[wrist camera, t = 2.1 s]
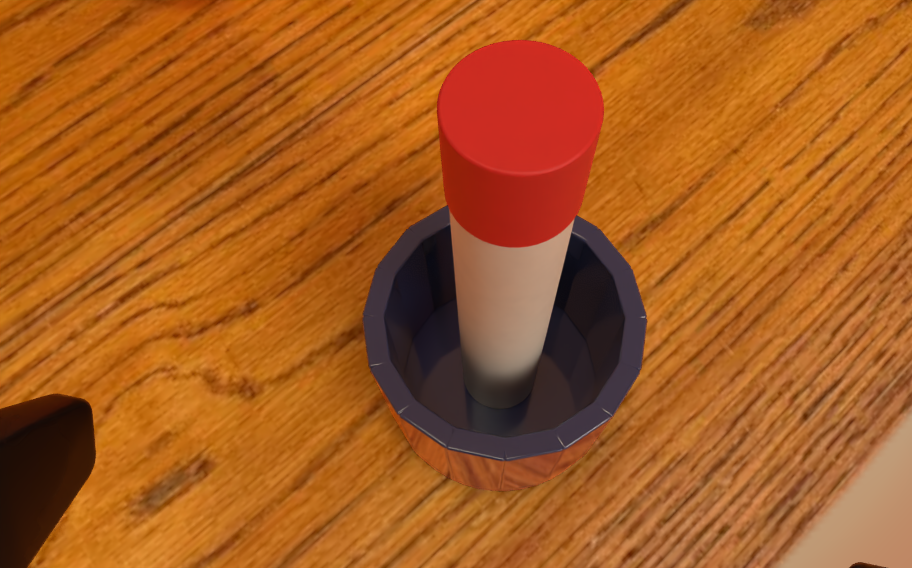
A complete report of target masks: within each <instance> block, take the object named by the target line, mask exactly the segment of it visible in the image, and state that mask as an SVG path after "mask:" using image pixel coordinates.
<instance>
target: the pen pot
mask: <svg viewBox="0 0 912 568" xmlns="http://www.w3.org/2000/svg"><path fill="white" fill-rule="evenodd" d="M646 317H647V315H646V312H645V309H644V305H643V302H642V299H641V296H640V292H639V289H638V286H637V283H636V279H635V276H634V273H633V270H632V269H631V267H630V265H629V264H628V263H627V261H626V260H625V259H624V258H623V257H622V255H621V254H620V253H619V252H618V251H617V249H616V248H615V247H614V246H613V245H612V243H611V242H610V241H609V240H608V238H607V237H606V236H605V235H604V234H603V232H602V231H601V230H600V229H598V228H597V227H596V226H595V225H593V224H591V223H589V222H587V221H586V220H584V219H582V218H580V217H579V216H577V215H576V217H575V219H574V223H573V227H572V232H571V236H570V240H569V244H568V248H567V252H566V256H565V260H564V264H563V268H562V272H561V276H560V280H559V284H558V289H557V293H556V297H555V301H554V305H553V309H552V313H551V317H550V321H549V325H548V329H547V333H546V337H545V341H544V346H543V350H542V354H541V358H540V362H539V366H538V370H537V374H536V378H535V382H534V386H533V388H532V390H531V392H530V394H529V395H528V396H527V397H526V398H525V399H524V400H523V401H522V402H521V403H519V404H517V405H515V406H513V407H510V408H505V409H495V408H490V407H487V406H484V405H482V404H481V403H479V402H478V401H476V400H475V399H474V398H473V397H472V396H471V395H470V393H469V392H468V390H467V388H466V386H465V383H464V377H463V366H462V355H461V343H460V331H459V319H458V308H457V296H456V284H455V272H454V260H453V249H452V237H451V225H450V213H449V207H448V205H447V206H445V207H443V208H441V209H440V210H438V211H436V212H434V213H433V214H431V215H429V216H427V217H426V218H424V219H422V220H420V221H419V222H417V223H415V224H414V225H412V226H410V227H409V229H407V230H406V231H405V232H404V233H403V235H402V236H401V237H400V238H399V240H398V241H397V242H396V243H395V245H394V246H393V247H392V248H391V249H390V251H389V252H388V253H387V254H386V256H385V257H384V258H383V259H382V261H381V262H380V263H379V264H378V266H377V268H376V270H375V273H374V276H373V280H372V283H371V287H370V290H369V294H368V297H367V300H366V304H365V307H364V311H363V318H362V321H363V329H364V336H365V344H366V351H367V358H368V366H369V368H370V372H371V374H372V376H373V378H374V380H375V382H376V384H377V386H378V388H379V390H380V392H381V394H382V396H383V398H384V400H385V402H386V404H387V406H388V408H389V410H390V412H391V414H392V416H393V418H394V419H395V421H396V423H397V424H398V426H399V428H400V429H401V431H402V432H403V434H404V436H405V438H406V440H407V441H408V442H409V444H410V445H411V447H412V449H413V450H414V452H415V453H417V455H418V456H419V457H421V458H422V459H423V460H424V461H425V462H426V463H427V464H429V465H430V466H431V467H432V468H433V469H435V470H436V471H438V472H439V473H441V474H442V475H444V476H446V477H447V478H449V479H451V480H454V481H456V482H458V483H460V484H463V485H466V486H470V487H473V488H477V489H483V490H490V491H511V490H519V489H525V488H529V487H532V486H536V485H539V484H541V483H544V482H546V481H549V480H551V479H553V478H554V477H556V476H558V475H559V474H561V473H563V472H564V471H565V470H567V469H568V468H569V467H571V466H572V465H573V464H574V463H575V462H577V461H578V460H579V459H581V458H582V457H583V456H584V455H585V454H586V453H587V452H588V450H589V449H590V447H591V446H592V445H593V443H594V442H595V441H596V439H597V438H598V437H599V435H600V434H601V432H602V431H603V430H604V428H605V427H606V426H607V424H608V423H609V422H610V420H611V419H612V417H613V416H614V414H615V413H616V411H617V410H618V408H619V406H620V405H621V403H622V401H623V400H624V398H625V397H626V395H627V393H628V392H629V390H630V388H631V387H632V385H633V383H634V382H635V380H636V379H637V377H638V375H639V374H640V370H641V367H642V359H643V351H644V343H645V334H646V326H647V319H646Z"/></svg>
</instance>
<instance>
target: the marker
mask: <svg viewBox="0 0 912 568" xmlns="http://www.w3.org/2000/svg"><path fill="white" fill-rule="evenodd" d="M603 116H604V104H603V98H602V94H601V91H600V89H599V86H598V84H597V82H596V80H595V78H594V77H593V75H592V74H591V72H590V71H589V70H588V69H587V67H586V66H584V65H583V64H582V63H581V62H580V61H579V60H578V59H576V58H575V57H574V56H572V55H571V54H569V53H567V52H566V51H564V50H562V49H560V48H557V47H555V46H552V45H549V44H546V43H542V42H536V41H528V40H511V41H503V42H498V43H493V44H490V45H487V46H484V47H482V48H480V49H478V50H476V51H474V52H472V53H471V54H469V55H467V56H466V57H465V58H463V59H462V60H461V61H460V62H458V64H457V65H456V66H455V67H454V68H453V69H452V70H451V71H450V73H449V74H448V75H447V77H446V79H445V81H444V82H443V84H442V86H441V89H440V92H439V96H438V101H437V118H438V129H439V140H440V150H441V161H442V172H443V183H444V192H445V198H446V202H447V205H448V207H449V213H450V225H451V237H452V249H453V260H454V272H455V284H456V296H457V308H458V319H459V331H460V343H461V355H462V366H463V377H464V383H465V386H466V388H467V390H468V392H469V393H470V395H471V396H472V397H473V398H474V399H475V400H476V401H478V402H479V403H481V404H482V405H484V406H487V407H490V408H495V409H505V408H510V407H513V406H515V405H517V404H519V403H521V402H522V401H523V400H524V399H525V398H526V397H527V396H528V395H529V394H530V392H531V390H532V388H533V386H534V382H535V378H536V374H537V370H538V366H539V362H540V358H541V354H542V350H543V346H544V341H545V337H546V333H547V329H548V325H549V321H550V317H551V313H552V309H553V305H554V301H555V297H556V293H557V289H558V284H559V280H560V276H561V272H562V268H563V264H564V260H565V256H566V252H567V248H568V244H569V240H570V236H571V232H572V227H573V223H574V219H575V217H576V215H577V214H578V212H579V209H580V207H581V205H582V201H583V197H584V193H585V189H586V185H587V181H588V177H589V173H590V170H591V166H592V162H593V158H594V154H595V150H596V146H597V142H598V138H599V134H600V130H601V126H602V122H603Z"/></svg>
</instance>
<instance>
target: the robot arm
mask: <svg viewBox="0 0 912 568" xmlns="http://www.w3.org/2000/svg"><path fill="white" fill-rule="evenodd" d="M95 458H96V450H95V438H94V426H93V414H92V408H91V406H90V404H89V403H88V402H87V401H86V400H85V399H82V398H77V397H72V396H68V395H63V394H50V395H47V396H43V397H40V398H36V399H33V400H29V401H26V402H23V403H19V404H16V405H12V406H9V407H5V408H2V409H0V568H27V567H28V566H29V564H30V563H31V562H32V560H33V559H34V557H35V556H36V554H37V553H38V551H39V550H40V548H41V547H42V545H43V544H44V542H45V541H46V539H47V538H48V536H49V535H50V533H51V532H52V531H53V529H54V528H55V526H56V525H57V523H58V522H59V520H60V519H61V517H62V516H63V514H64V513H65V511H66V510H67V508H68V507H69V505H70V504H71V502H72V501H73V500H74V498H75V497H76V495H77V494H78V492H79V491H80V489H81V488H82V486H83V485H84V483H85V482H86V480H87V479H88V477H89V476H90V474H91V472H92V470H93V467H94V464H95ZM850 568H886V567H881V566H877V565H872V564H867V563H862V562H858V563H855V564H853V565H852V566H851V567H850Z"/></svg>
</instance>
